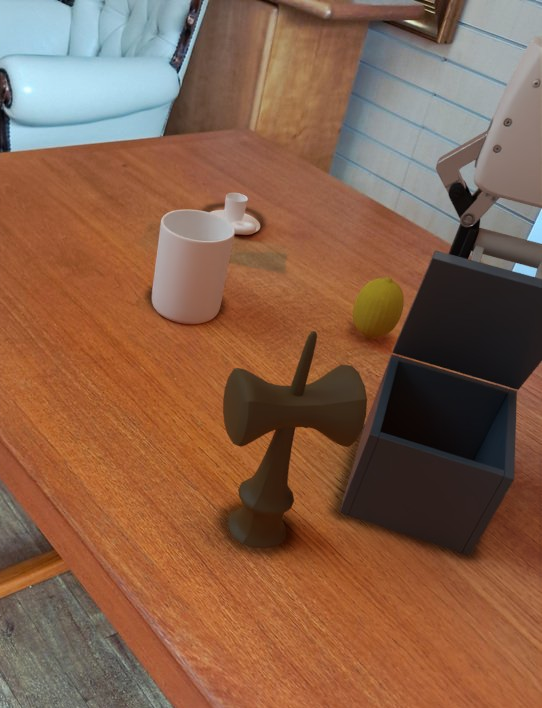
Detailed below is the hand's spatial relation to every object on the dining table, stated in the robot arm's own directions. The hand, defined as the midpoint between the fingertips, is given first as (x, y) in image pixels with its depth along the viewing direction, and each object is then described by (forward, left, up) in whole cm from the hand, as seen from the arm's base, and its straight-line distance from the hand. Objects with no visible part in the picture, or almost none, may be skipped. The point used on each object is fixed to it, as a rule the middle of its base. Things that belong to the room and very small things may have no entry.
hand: (498, 279), depth 64 cm
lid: (0, +2, -4) cm, 4 cm away
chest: (+1, +4, -20) cm, 21 cm away
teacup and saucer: (+19, -49, -20) cm, 56 cm away
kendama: (+16, +12, -20) cm, 29 cm away
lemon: (+1, -24, -20) cm, 31 cm away
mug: (+23, -27, -20) cm, 41 cm away
